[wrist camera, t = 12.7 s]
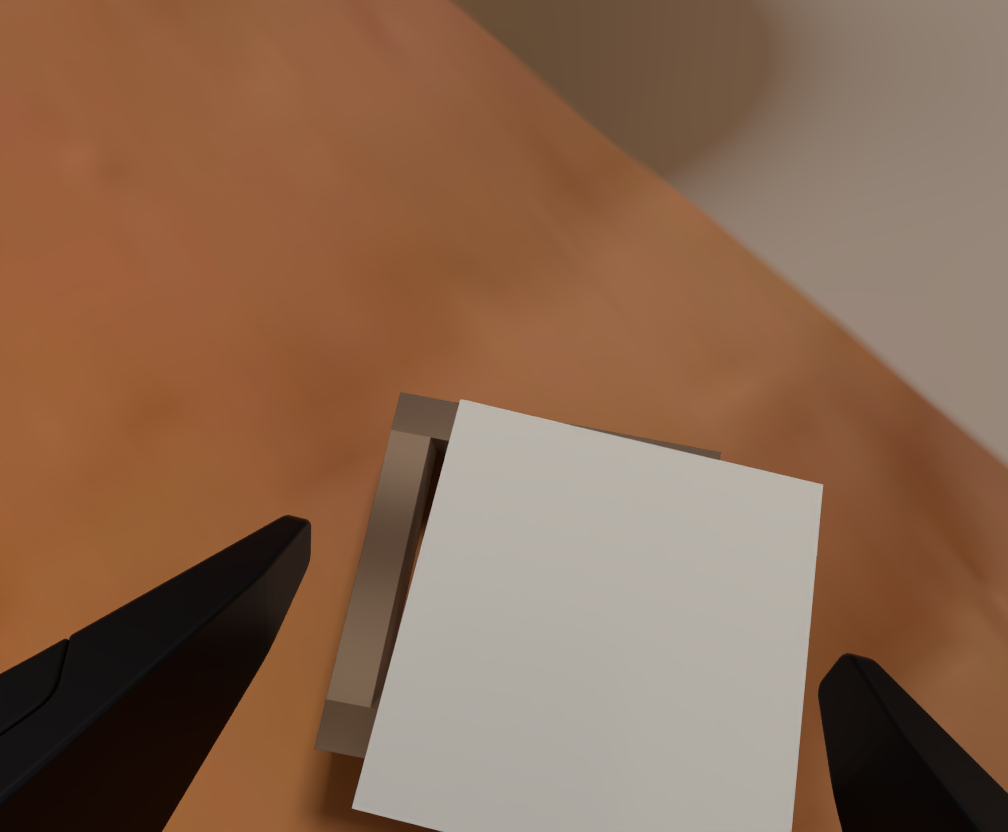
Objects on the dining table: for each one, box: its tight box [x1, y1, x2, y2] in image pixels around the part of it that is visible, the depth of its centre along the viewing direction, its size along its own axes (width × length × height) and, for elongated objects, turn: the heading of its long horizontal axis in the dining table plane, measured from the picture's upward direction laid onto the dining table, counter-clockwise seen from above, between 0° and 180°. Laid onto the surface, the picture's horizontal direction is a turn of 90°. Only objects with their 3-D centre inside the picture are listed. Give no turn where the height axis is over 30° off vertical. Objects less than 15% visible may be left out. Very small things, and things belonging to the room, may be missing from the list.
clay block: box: [352, 399, 823, 832], centre depth 12 cm, size 4×4×12 cm
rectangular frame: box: [314, 392, 721, 758], centre depth 17 cm, size 10×10×2 cm
